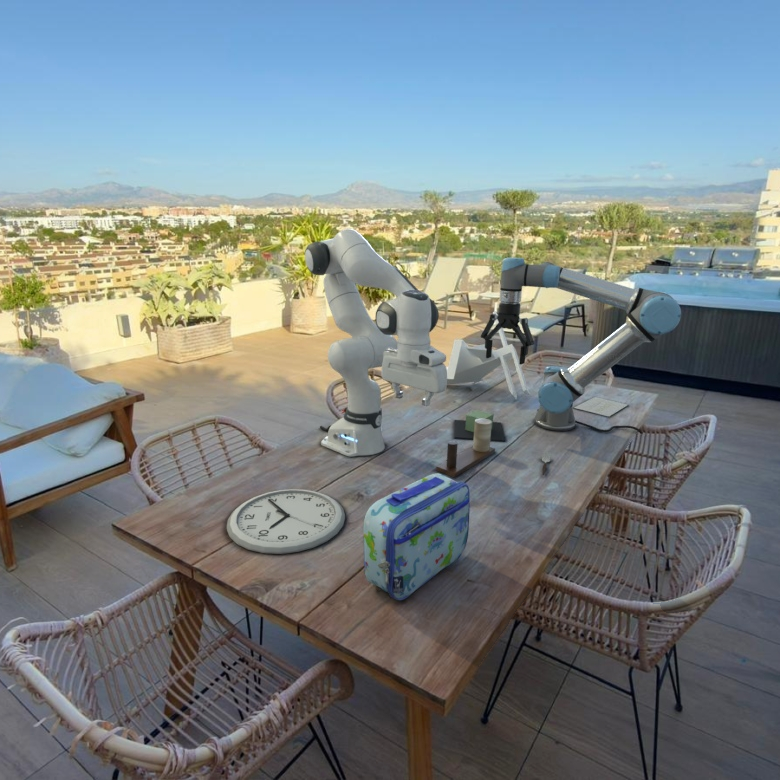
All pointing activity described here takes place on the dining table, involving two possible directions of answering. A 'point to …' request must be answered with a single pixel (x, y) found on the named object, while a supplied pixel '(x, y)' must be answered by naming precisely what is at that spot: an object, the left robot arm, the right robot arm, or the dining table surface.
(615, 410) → the invitation card
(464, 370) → the white plastic object
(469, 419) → the sage green cube
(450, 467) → the caddy
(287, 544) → the wall clock
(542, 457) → the fork
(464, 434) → the slate mat
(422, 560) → the lunch box
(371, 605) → the dining table surface
